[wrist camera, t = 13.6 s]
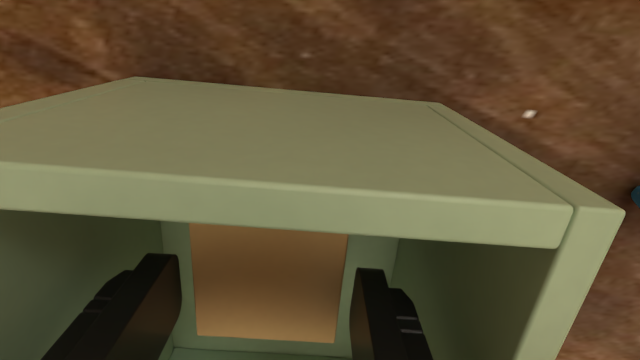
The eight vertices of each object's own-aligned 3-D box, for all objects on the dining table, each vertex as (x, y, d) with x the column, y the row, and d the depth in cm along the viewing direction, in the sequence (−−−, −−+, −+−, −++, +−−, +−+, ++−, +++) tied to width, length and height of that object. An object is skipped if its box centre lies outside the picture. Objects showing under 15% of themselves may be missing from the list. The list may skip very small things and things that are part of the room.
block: (227, 158, 13) (187, 214, 9) (341, 167, 14) (350, 225, 9) (229, 254, 15) (196, 336, 11) (330, 261, 15) (334, 344, 11)
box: (133, 75, 13) (-179, 148, 5) (441, 102, 13) (630, 211, 5) (165, 344, 18) (43, 594, 10) (385, 357, 19) (435, 607, 11)
